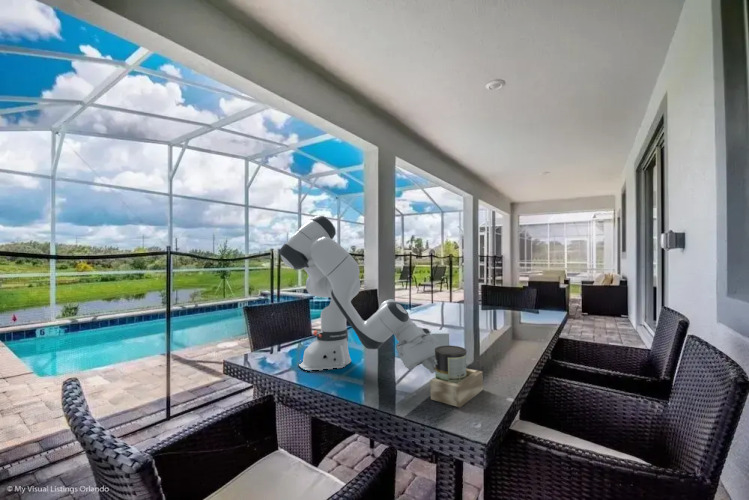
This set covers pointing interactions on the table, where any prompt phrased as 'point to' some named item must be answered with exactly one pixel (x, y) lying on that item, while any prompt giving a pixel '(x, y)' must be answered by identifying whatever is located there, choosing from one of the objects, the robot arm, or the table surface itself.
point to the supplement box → (441, 337)
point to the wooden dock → (457, 389)
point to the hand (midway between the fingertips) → (435, 371)
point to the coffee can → (450, 363)
